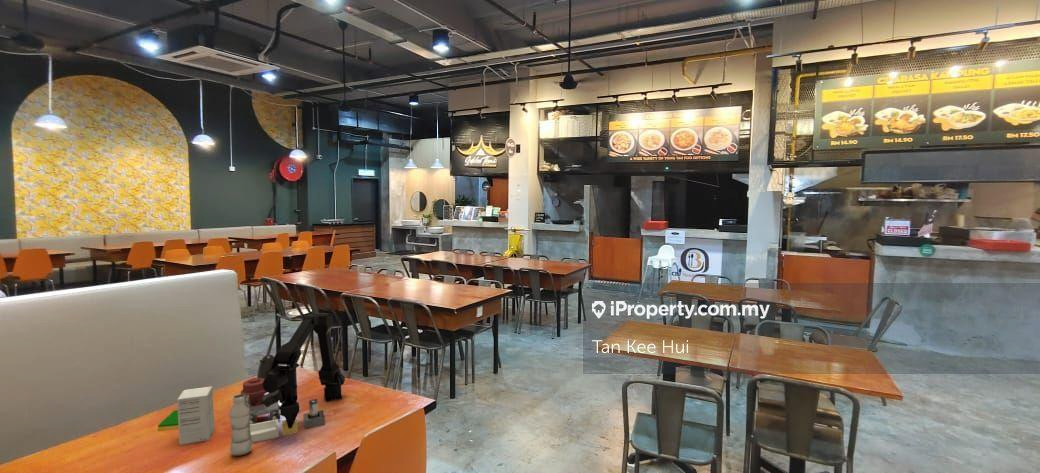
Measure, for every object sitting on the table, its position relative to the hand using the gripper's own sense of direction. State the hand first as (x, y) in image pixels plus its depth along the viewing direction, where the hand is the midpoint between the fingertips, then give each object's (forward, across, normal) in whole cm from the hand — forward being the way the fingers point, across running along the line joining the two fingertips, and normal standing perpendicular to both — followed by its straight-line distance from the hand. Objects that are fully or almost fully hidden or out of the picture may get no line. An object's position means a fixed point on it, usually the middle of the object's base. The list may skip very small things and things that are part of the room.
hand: (289, 423), depth 175 cm
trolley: (+3, -15, -9) cm, 18 cm away
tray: (+3, -1, -10) cm, 10 cm away
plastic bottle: (+3, +10, -15) cm, 18 cm away
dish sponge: (+4, -30, -39) cm, 50 cm away
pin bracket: (+3, -3, +8) cm, 10 cm away
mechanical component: (+3, -29, -12) cm, 32 cm away
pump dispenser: (+3, -53, -7) cm, 54 cm away
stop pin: (+3, -3, +8) cm, 10 cm away
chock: (+3, 0, 0) cm, 3 cm away
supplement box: (+3, -11, -30) cm, 32 cm away
